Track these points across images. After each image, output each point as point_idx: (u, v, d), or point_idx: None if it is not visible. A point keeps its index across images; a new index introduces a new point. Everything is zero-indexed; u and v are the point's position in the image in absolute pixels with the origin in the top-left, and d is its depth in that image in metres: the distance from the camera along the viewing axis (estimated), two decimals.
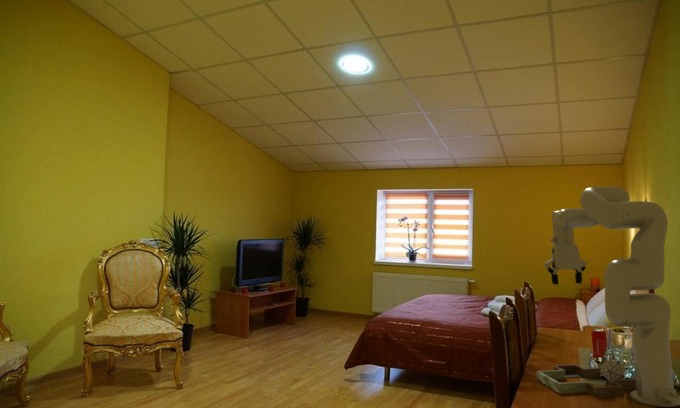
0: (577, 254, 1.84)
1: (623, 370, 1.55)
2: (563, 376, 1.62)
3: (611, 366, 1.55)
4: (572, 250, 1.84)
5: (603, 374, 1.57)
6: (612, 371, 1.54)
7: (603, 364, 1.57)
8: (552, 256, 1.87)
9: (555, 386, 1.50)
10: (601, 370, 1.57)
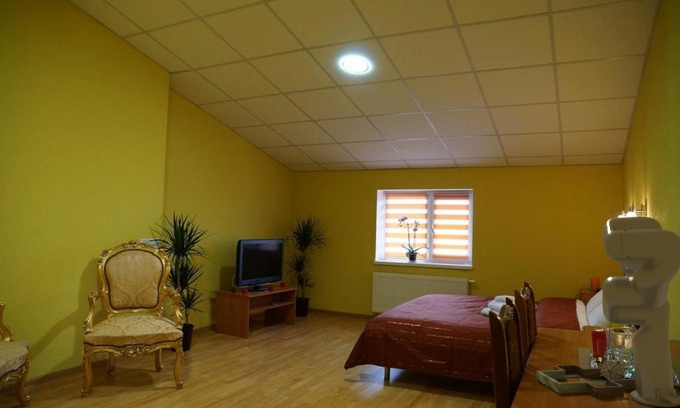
0: None
1: (623, 370, 1.55)
2: (563, 376, 1.62)
3: (611, 366, 1.55)
4: None
5: (603, 374, 1.57)
6: (612, 371, 1.54)
7: (603, 364, 1.57)
8: None
9: (555, 386, 1.50)
10: (601, 370, 1.57)
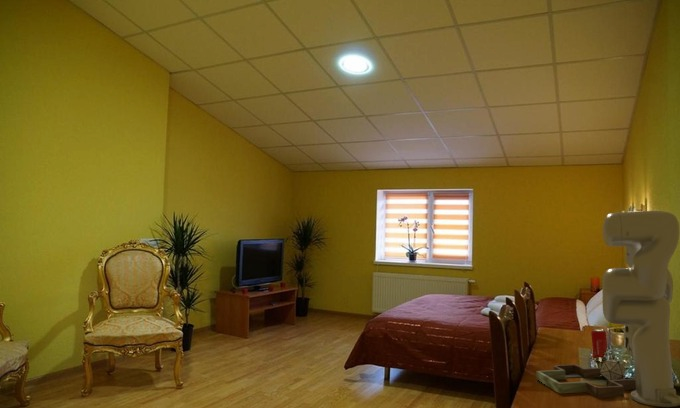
0: None
1: (623, 370, 1.55)
2: (563, 376, 1.62)
3: (611, 366, 1.55)
4: None
5: (603, 374, 1.57)
6: (612, 371, 1.54)
7: (603, 364, 1.57)
8: (625, 335, 1.59)
9: (555, 386, 1.50)
10: (601, 370, 1.57)
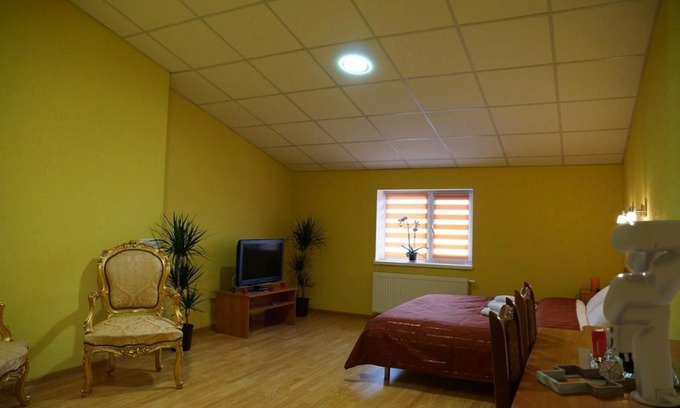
0: None
1: (622, 370, 1.55)
2: (563, 376, 1.62)
3: (610, 366, 1.55)
4: (635, 329, 1.56)
5: (602, 374, 1.57)
6: (611, 371, 1.54)
7: (602, 364, 1.57)
8: (610, 335, 1.59)
9: (555, 386, 1.50)
10: (600, 370, 1.57)
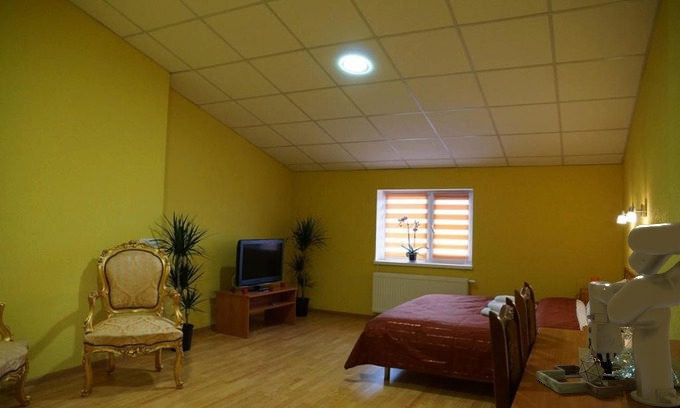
0: (619, 334, 1.56)
1: (601, 371, 1.54)
2: (563, 376, 1.62)
3: (588, 367, 1.55)
4: (613, 330, 1.56)
5: (581, 375, 1.57)
6: (588, 372, 1.54)
7: (581, 365, 1.58)
8: (588, 336, 1.59)
9: (555, 386, 1.50)
10: (580, 371, 1.58)
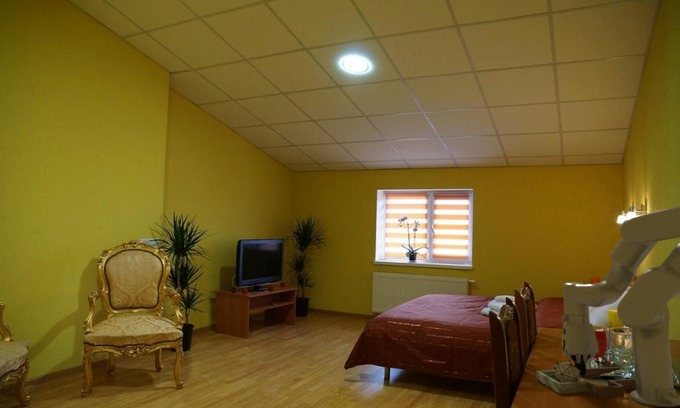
0: (593, 336, 1.55)
1: (577, 373, 1.53)
2: None
3: (564, 369, 1.53)
4: (587, 331, 1.55)
5: (557, 377, 1.55)
6: (564, 374, 1.53)
7: (557, 367, 1.56)
8: (563, 337, 1.58)
9: (555, 386, 1.50)
10: (556, 373, 1.56)
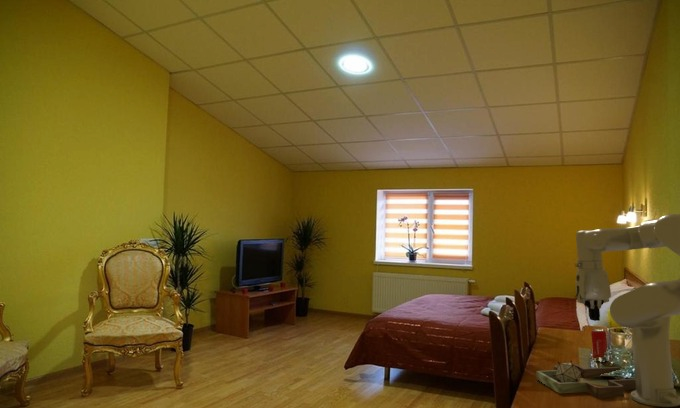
0: (607, 281, 1.57)
1: (578, 374, 1.53)
2: None
3: (565, 369, 1.53)
4: (601, 277, 1.57)
5: (558, 377, 1.55)
6: (565, 374, 1.52)
7: (558, 367, 1.56)
8: (577, 284, 1.60)
9: (555, 386, 1.50)
10: (557, 373, 1.56)
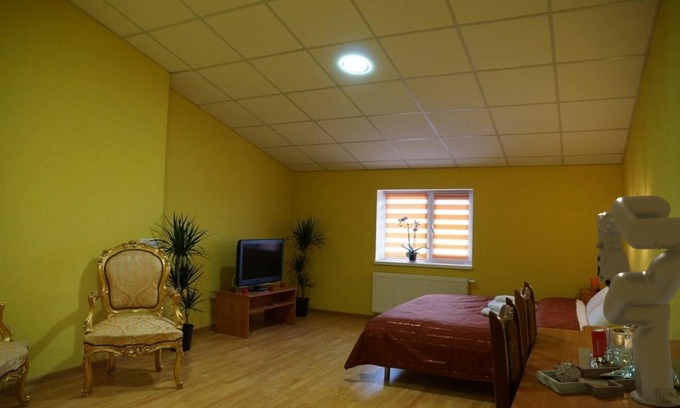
0: (627, 261, 1.64)
1: (578, 374, 1.53)
2: None
3: (565, 369, 1.53)
4: (621, 257, 1.64)
5: (558, 377, 1.55)
6: (565, 374, 1.52)
7: (558, 367, 1.56)
8: (597, 264, 1.67)
9: (555, 386, 1.50)
10: (557, 373, 1.56)
